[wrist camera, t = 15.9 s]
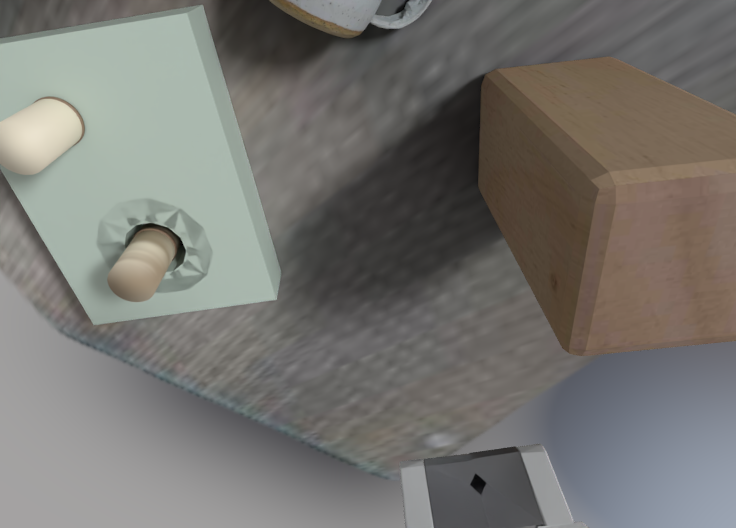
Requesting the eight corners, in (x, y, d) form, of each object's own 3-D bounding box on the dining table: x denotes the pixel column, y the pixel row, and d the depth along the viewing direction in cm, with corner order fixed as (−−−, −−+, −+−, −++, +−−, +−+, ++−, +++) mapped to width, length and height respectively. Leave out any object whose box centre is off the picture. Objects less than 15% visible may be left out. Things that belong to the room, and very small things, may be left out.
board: (-28, 43, 34) (-134, 75, 26) (202, 4, 33) (161, 26, 25) (111, 296, 46) (67, 367, 38) (281, 272, 45) (269, 340, 38)
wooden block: (475, 192, 41) (562, 366, 25) (478, 67, 36) (595, 184, 19) (594, 179, 41) (763, 346, 25) (617, 52, 36) (854, 157, 19)
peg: (143, 208, 41) (97, 268, 33) (181, 201, 41) (144, 259, 33) (159, 242, 43) (119, 306, 35) (196, 235, 43) (164, 298, 35)
